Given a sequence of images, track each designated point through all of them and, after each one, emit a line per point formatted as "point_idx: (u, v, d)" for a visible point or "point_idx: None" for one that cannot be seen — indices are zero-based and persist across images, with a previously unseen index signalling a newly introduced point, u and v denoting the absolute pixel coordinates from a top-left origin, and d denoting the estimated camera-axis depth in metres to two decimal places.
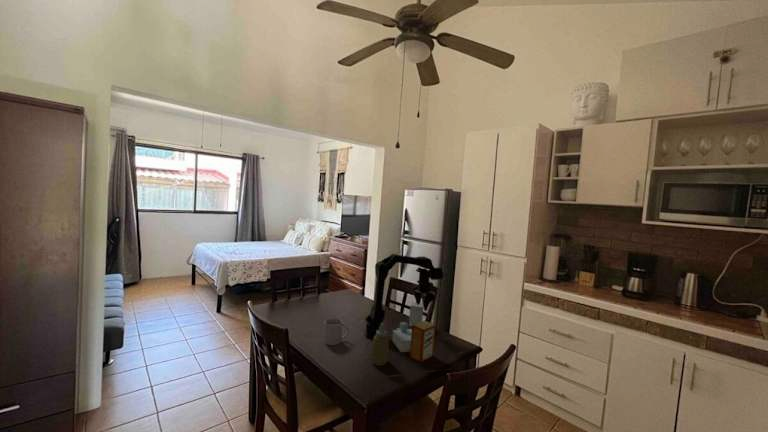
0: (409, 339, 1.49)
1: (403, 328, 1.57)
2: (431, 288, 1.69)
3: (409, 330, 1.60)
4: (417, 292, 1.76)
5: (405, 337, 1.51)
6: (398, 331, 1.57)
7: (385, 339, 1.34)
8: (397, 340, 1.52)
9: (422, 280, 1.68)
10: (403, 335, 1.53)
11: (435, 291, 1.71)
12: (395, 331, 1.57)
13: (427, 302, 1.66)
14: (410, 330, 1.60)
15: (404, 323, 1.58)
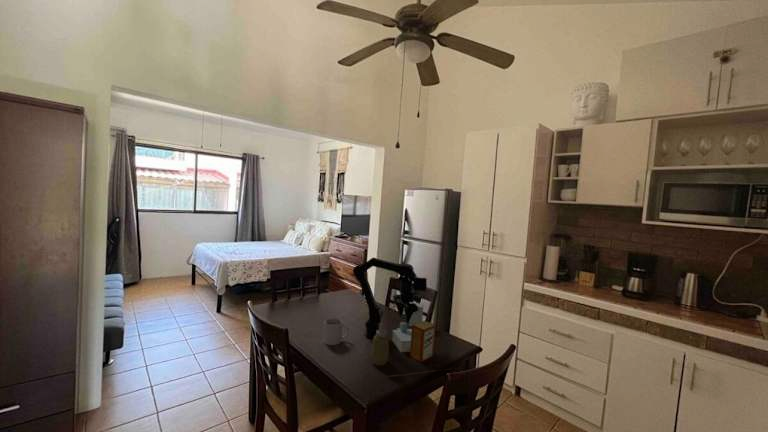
0: (409, 339, 1.49)
1: (403, 328, 1.57)
2: (414, 298, 1.57)
3: (409, 330, 1.60)
4: (399, 302, 1.63)
5: (405, 337, 1.51)
6: (398, 331, 1.57)
7: (385, 339, 1.34)
8: (397, 340, 1.52)
9: (401, 289, 1.57)
10: (403, 335, 1.53)
11: (418, 301, 1.59)
12: (395, 331, 1.57)
13: (409, 313, 1.53)
14: (410, 330, 1.60)
15: (404, 323, 1.58)
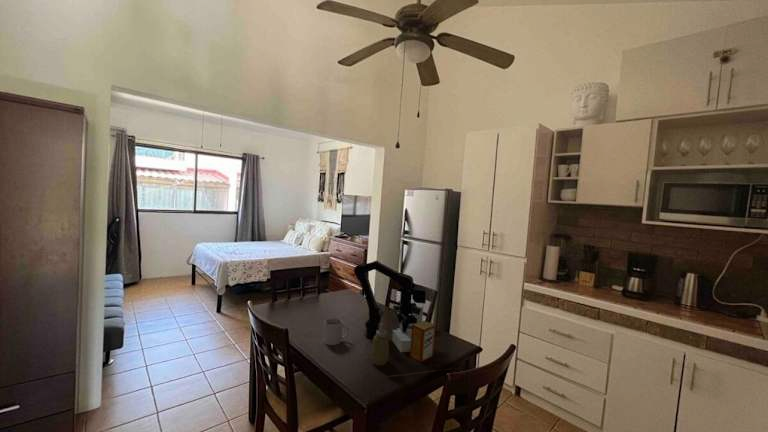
0: (409, 339, 1.49)
1: None
2: (413, 310, 1.57)
3: (409, 330, 1.60)
4: (401, 315, 1.60)
5: (405, 337, 1.51)
6: (398, 331, 1.58)
7: (385, 339, 1.34)
8: (397, 340, 1.52)
9: (401, 300, 1.56)
10: (403, 335, 1.53)
11: (418, 313, 1.58)
12: (395, 331, 1.57)
13: None
14: (410, 330, 1.60)
15: None
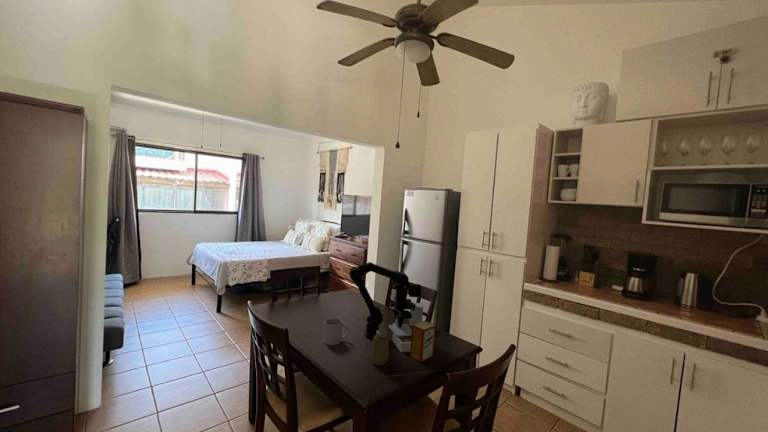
0: (404, 333, 1.55)
1: None
2: (408, 305, 1.63)
3: (404, 325, 1.66)
4: (396, 311, 1.66)
5: (400, 332, 1.57)
6: (394, 326, 1.64)
7: (385, 339, 1.34)
8: (397, 340, 1.52)
9: (398, 297, 1.62)
10: (399, 330, 1.59)
11: (412, 308, 1.64)
12: (391, 326, 1.63)
13: None
14: (405, 325, 1.66)
15: None
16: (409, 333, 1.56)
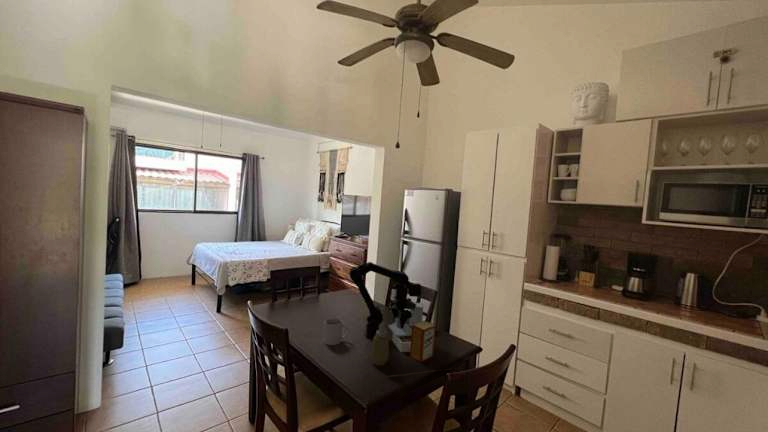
0: (404, 333, 1.55)
1: (398, 323, 1.63)
2: (408, 305, 1.63)
3: (404, 325, 1.66)
4: (394, 308, 1.69)
5: (400, 331, 1.57)
6: (394, 326, 1.64)
7: (385, 339, 1.34)
8: (397, 340, 1.52)
9: (398, 296, 1.62)
10: (399, 330, 1.59)
11: (412, 308, 1.64)
12: (391, 326, 1.63)
13: (403, 320, 1.59)
14: (405, 325, 1.66)
15: None
16: (409, 333, 1.56)
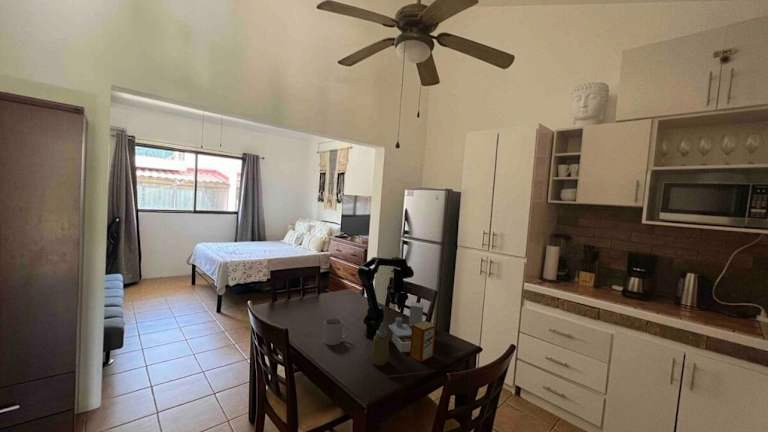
0: (404, 333, 1.55)
1: (398, 323, 1.63)
2: (405, 288, 1.73)
3: (404, 325, 1.66)
4: (392, 292, 1.79)
5: (400, 331, 1.57)
6: (394, 326, 1.64)
7: (385, 339, 1.34)
8: (397, 340, 1.52)
9: (398, 280, 1.71)
10: (399, 330, 1.59)
11: (409, 291, 1.74)
12: (391, 326, 1.63)
13: (400, 302, 1.69)
14: (405, 325, 1.66)
15: (399, 318, 1.64)
16: (409, 333, 1.56)
